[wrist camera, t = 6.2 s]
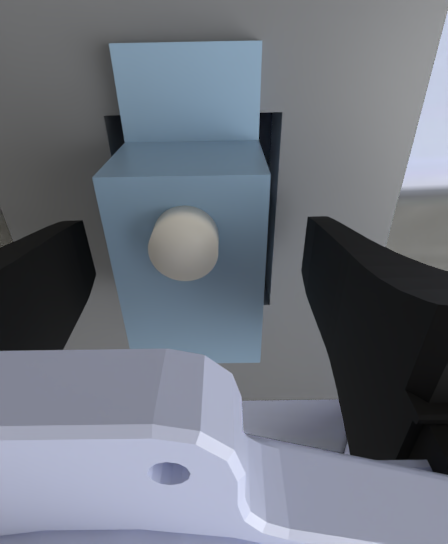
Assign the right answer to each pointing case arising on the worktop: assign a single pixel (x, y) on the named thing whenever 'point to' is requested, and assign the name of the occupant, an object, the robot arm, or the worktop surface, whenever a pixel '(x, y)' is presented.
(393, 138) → the mounting plate
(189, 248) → the block
